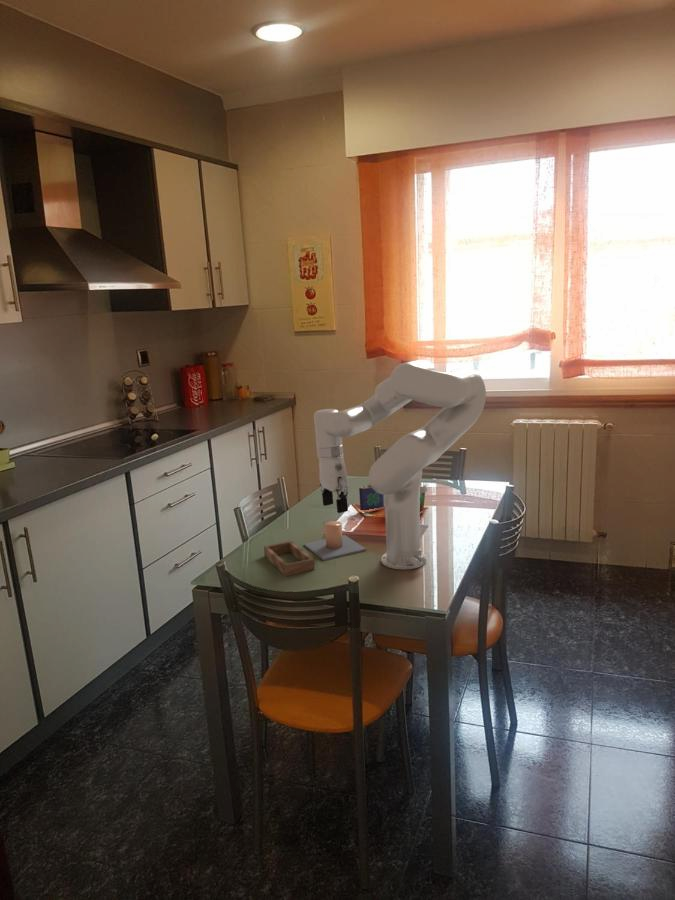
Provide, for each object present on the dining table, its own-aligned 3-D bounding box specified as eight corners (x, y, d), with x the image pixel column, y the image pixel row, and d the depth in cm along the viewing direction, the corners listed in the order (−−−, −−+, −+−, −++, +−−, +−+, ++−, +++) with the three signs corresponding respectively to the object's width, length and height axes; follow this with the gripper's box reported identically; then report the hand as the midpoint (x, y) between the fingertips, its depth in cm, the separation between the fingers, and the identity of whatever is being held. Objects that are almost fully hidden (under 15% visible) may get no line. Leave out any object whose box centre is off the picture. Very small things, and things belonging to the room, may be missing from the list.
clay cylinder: (345, 546, 197) (344, 524, 195) (330, 550, 194) (329, 528, 193) (338, 541, 201) (337, 520, 199) (323, 545, 199) (322, 523, 197)
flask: (382, 507, 234) (381, 478, 232) (386, 509, 232) (385, 480, 229) (358, 511, 231) (357, 482, 228) (362, 514, 228) (361, 484, 225)
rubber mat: (366, 550, 194) (366, 548, 194) (323, 560, 189) (323, 558, 188) (344, 536, 207) (344, 534, 207) (303, 545, 201) (303, 543, 201)
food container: (389, 517, 223) (388, 488, 221) (392, 511, 229) (391, 483, 227) (425, 518, 220) (425, 489, 218) (427, 512, 226) (427, 484, 224)
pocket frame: (314, 569, 183) (314, 559, 182) (285, 576, 179) (285, 565, 178) (291, 550, 198) (290, 540, 197) (264, 556, 194) (263, 546, 193)
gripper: (355, 453, 185) (360, 512, 188) (329, 445, 200) (334, 499, 204) (331, 458, 182) (336, 517, 185) (306, 449, 197) (312, 504, 200)
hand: (335, 508), depth 194 cm, fingers open, 9 cm apart
